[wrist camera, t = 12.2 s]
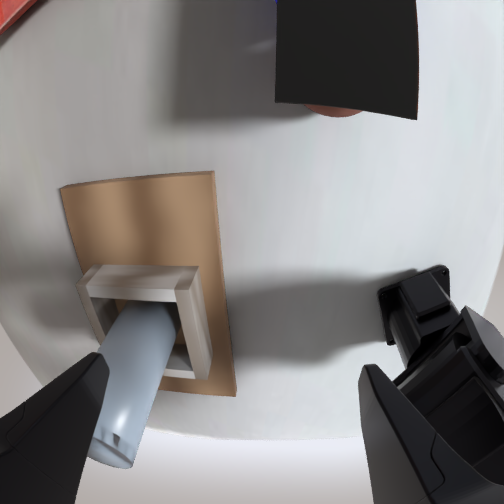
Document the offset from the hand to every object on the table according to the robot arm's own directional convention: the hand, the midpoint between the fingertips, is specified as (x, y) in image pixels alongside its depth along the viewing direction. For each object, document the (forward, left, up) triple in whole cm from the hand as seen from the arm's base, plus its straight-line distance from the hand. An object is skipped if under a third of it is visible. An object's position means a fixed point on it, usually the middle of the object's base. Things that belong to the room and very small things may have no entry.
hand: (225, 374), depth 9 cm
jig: (-4, +10, -13) cm, 17 cm away
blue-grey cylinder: (-4, +10, -12) cm, 16 cm away
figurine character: (+12, -10, -13) cm, 20 cm away
